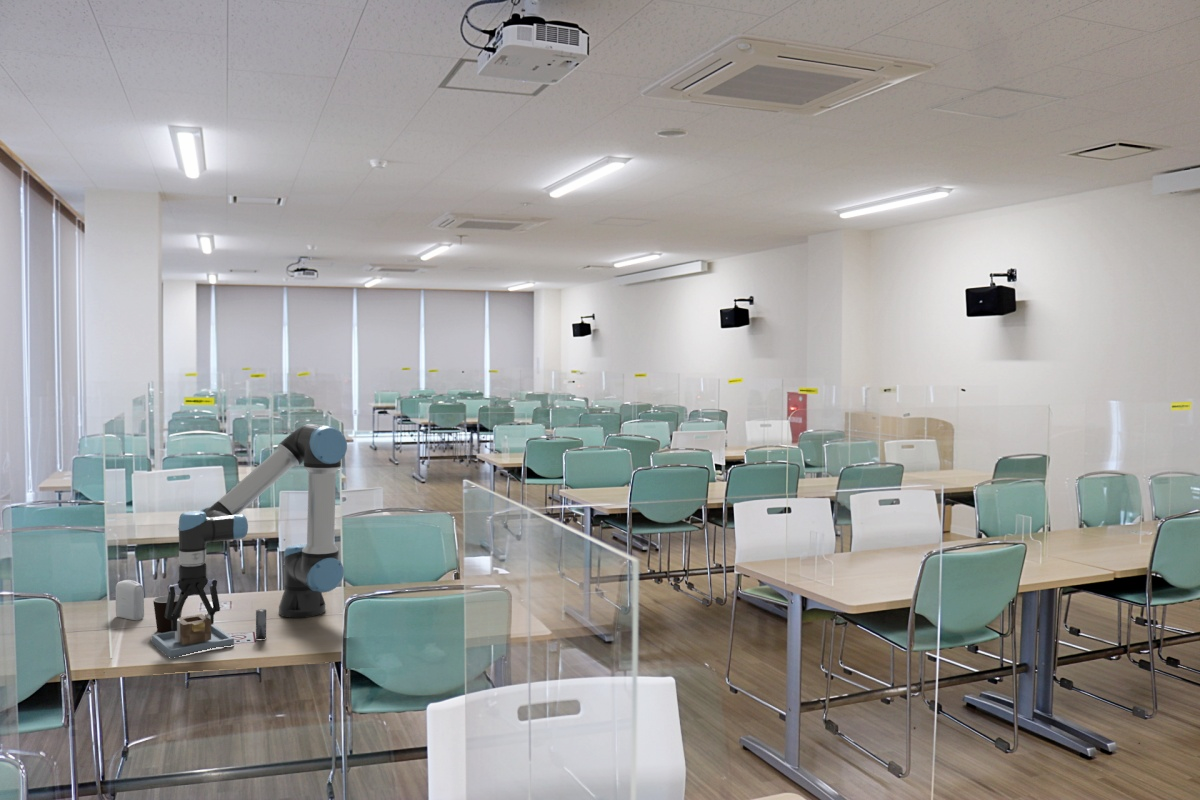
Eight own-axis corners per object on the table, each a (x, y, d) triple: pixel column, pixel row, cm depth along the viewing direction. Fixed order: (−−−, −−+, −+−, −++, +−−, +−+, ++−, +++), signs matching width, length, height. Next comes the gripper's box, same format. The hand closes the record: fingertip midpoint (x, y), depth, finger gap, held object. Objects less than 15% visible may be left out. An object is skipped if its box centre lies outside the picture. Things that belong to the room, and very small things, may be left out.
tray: (212, 631, 289) (212, 623, 289) (233, 646, 276) (233, 638, 276) (151, 643, 277) (151, 634, 277) (170, 659, 264) (170, 650, 264)
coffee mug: (171, 635, 285) (171, 603, 284) (147, 632, 287) (147, 601, 286) (195, 624, 296) (195, 593, 296) (171, 622, 298) (171, 591, 298)
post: (263, 637, 286) (264, 608, 285) (267, 639, 283) (267, 610, 283) (254, 638, 284) (254, 610, 283) (258, 641, 281) (258, 612, 281)
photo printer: (113, 617, 302) (113, 579, 301) (125, 613, 306) (125, 577, 305) (134, 621, 298) (134, 584, 297) (146, 618, 301) (146, 581, 301)
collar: (201, 633, 282) (201, 613, 282) (213, 641, 275) (213, 621, 274) (174, 638, 277) (174, 618, 277) (185, 646, 269) (185, 626, 269)
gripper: (159, 571, 266) (159, 648, 267) (232, 561, 279) (232, 634, 281) (151, 566, 271) (151, 641, 272) (223, 556, 285) (223, 628, 286)
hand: (192, 638), depth 277 cm, fingers closed on collar, 8 cm apart
